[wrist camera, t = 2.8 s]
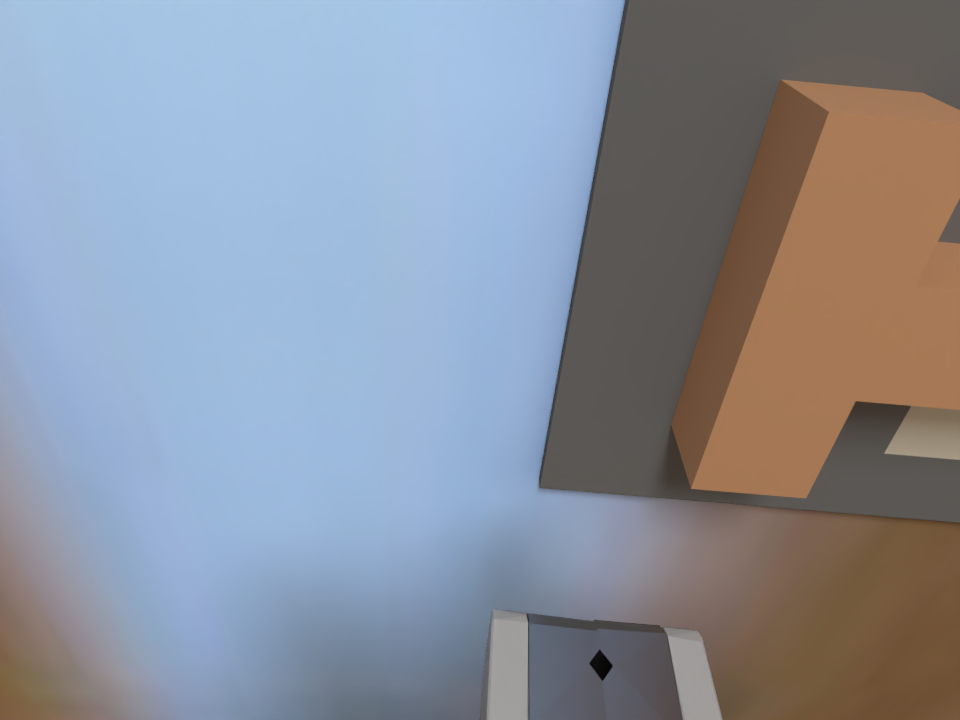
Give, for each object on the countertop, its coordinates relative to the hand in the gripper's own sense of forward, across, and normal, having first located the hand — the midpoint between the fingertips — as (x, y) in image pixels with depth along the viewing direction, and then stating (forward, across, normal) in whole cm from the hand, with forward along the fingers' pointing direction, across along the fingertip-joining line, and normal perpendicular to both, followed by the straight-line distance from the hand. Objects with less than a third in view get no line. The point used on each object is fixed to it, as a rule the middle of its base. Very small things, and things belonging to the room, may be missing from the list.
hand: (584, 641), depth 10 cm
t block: (+12, -10, 0) cm, 15 cm away
